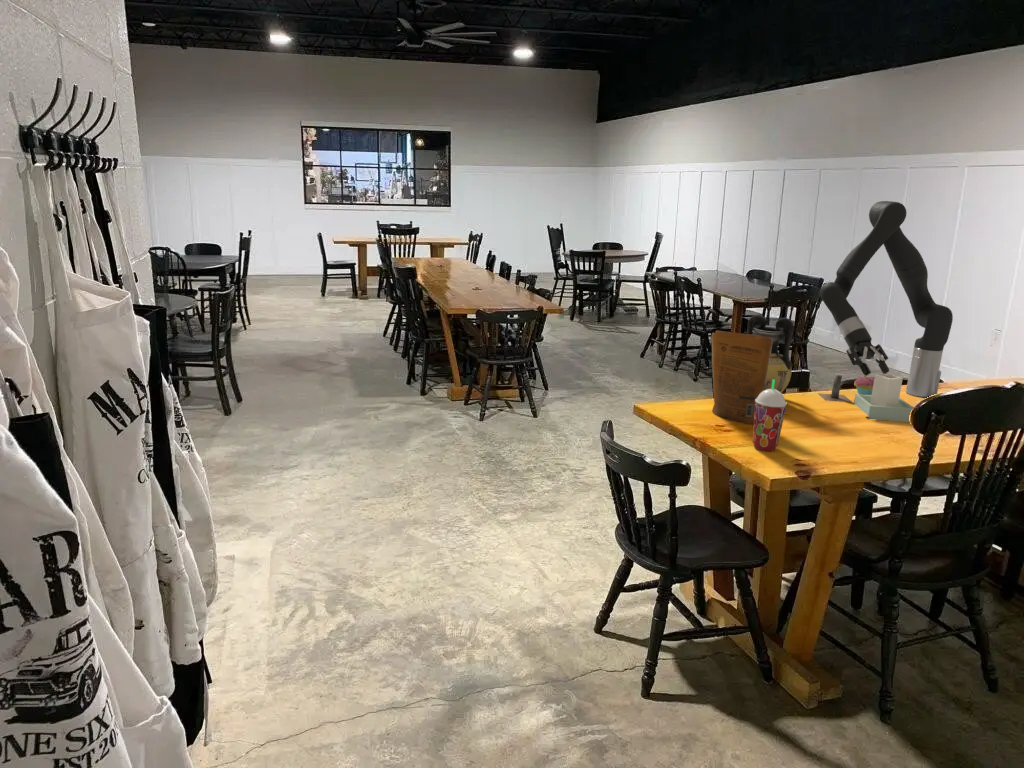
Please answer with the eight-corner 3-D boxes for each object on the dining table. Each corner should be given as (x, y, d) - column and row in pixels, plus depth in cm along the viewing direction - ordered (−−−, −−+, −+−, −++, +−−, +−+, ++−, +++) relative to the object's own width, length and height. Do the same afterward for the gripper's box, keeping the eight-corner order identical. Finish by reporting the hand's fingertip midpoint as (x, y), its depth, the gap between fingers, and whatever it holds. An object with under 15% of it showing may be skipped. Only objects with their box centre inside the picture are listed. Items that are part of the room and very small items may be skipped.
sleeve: (881, 408, 245) (887, 373, 241) (896, 413, 240) (902, 378, 236) (869, 409, 242) (875, 374, 239) (883, 414, 237) (890, 379, 234)
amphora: (729, 403, 248) (740, 316, 240) (739, 392, 262) (749, 309, 254) (784, 412, 240) (796, 322, 232) (791, 400, 254) (803, 315, 246)
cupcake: (858, 399, 258) (863, 366, 255) (848, 392, 266) (853, 360, 263) (882, 400, 258) (888, 367, 255) (872, 393, 266) (877, 361, 263)
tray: (896, 409, 247) (898, 396, 246) (913, 422, 234) (915, 408, 233) (853, 406, 249) (855, 394, 247) (867, 419, 235) (870, 406, 234)
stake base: (843, 398, 259) (847, 373, 256) (851, 405, 250) (856, 379, 248) (817, 396, 260) (820, 371, 257) (824, 403, 251) (828, 378, 249)
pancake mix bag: (757, 428, 222) (768, 338, 215) (701, 413, 235) (710, 328, 228) (767, 423, 227) (778, 336, 220) (712, 409, 240) (721, 326, 232)
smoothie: (785, 448, 206) (795, 380, 200) (771, 455, 200) (781, 385, 195) (758, 440, 211) (766, 374, 206) (743, 447, 206) (752, 378, 200)
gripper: (846, 327, 243) (870, 369, 236) (877, 325, 249) (900, 366, 242) (832, 340, 249) (854, 381, 242) (862, 337, 255) (884, 377, 248)
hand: (877, 373), depth 242 cm, fingers open, 8 cm apart
